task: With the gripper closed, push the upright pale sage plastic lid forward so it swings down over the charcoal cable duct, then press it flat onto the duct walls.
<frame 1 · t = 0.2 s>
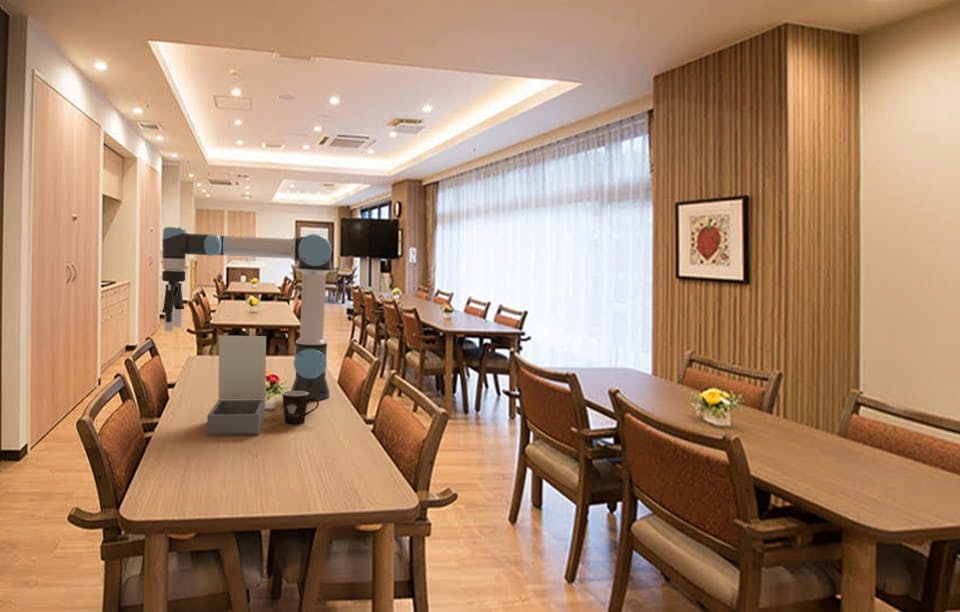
hand: (173, 329, 240), 28 cm above the table, fingers open, 13 cm apart
cable duct: (237, 426, 217), on the table
coffee mug: (298, 423, 225), on the table
duct lid: (242, 367, 226), point 18 cm above the table, hinge at 85.0°
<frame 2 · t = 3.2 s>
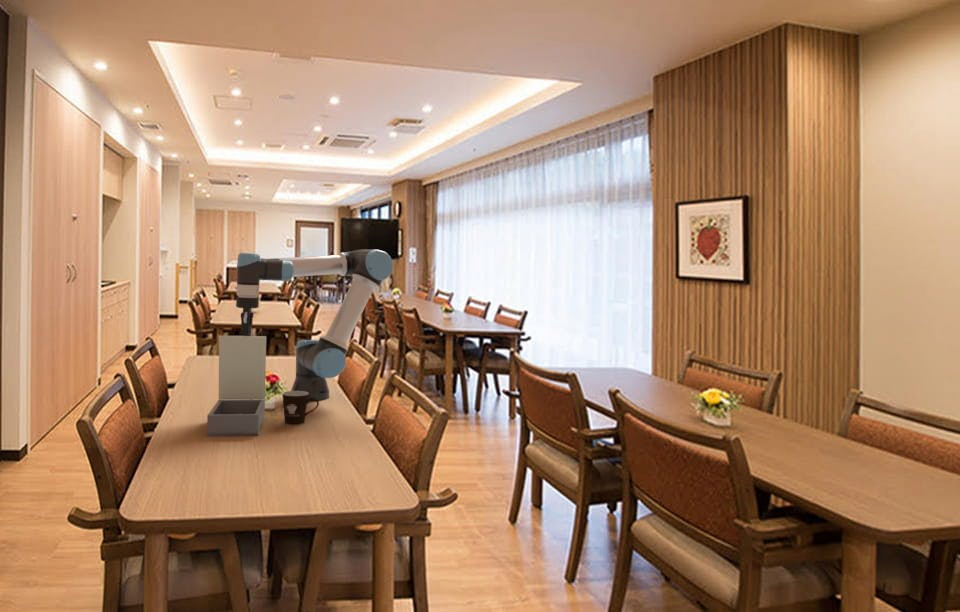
hand: (245, 362, 237), 18 cm above the table, fingers closed
nothing on the table moved.
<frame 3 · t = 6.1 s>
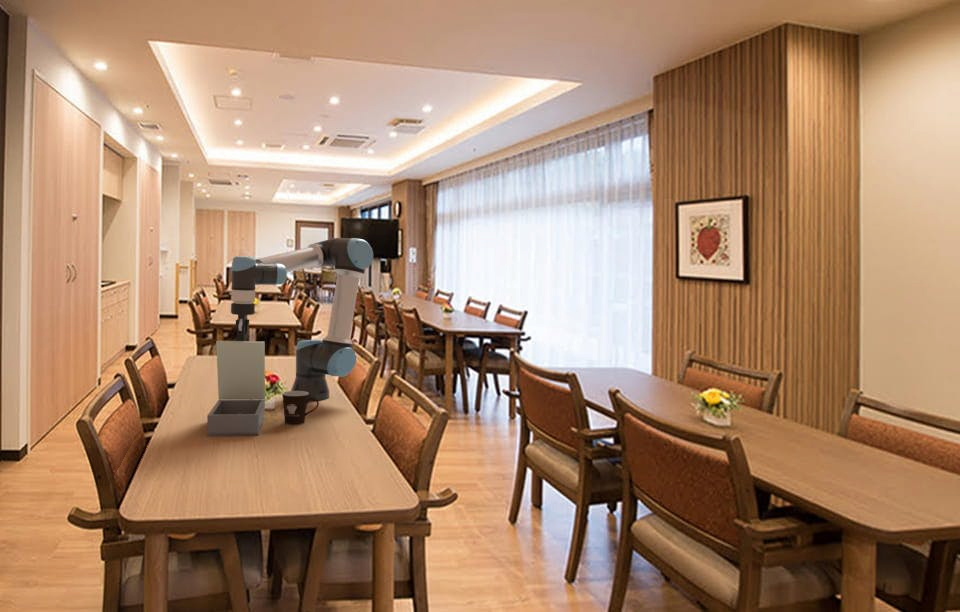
hand: (241, 371, 225), 16 cm above the table, fingers closed
duct lid: (241, 370, 223), point 17 cm above the table, hinge at 69.5°, touching gripper, hand
everything else where it was.
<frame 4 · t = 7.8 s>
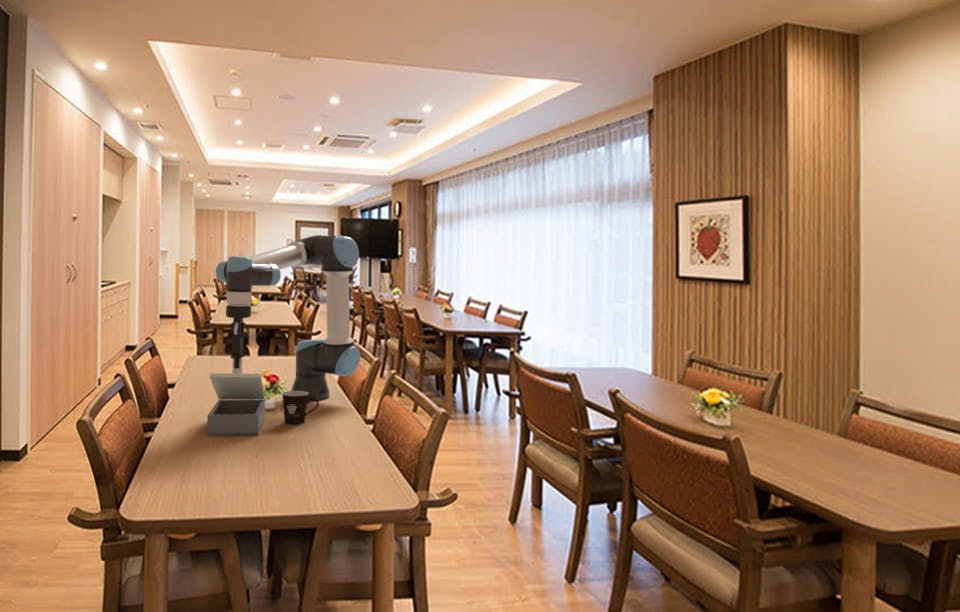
hand: (237, 377, 213), 17 cm above the table, fingers closed
duct lid: (238, 387, 218), point 13 cm above the table, hinge at 30.7°, touching gripper
everything else where it was.
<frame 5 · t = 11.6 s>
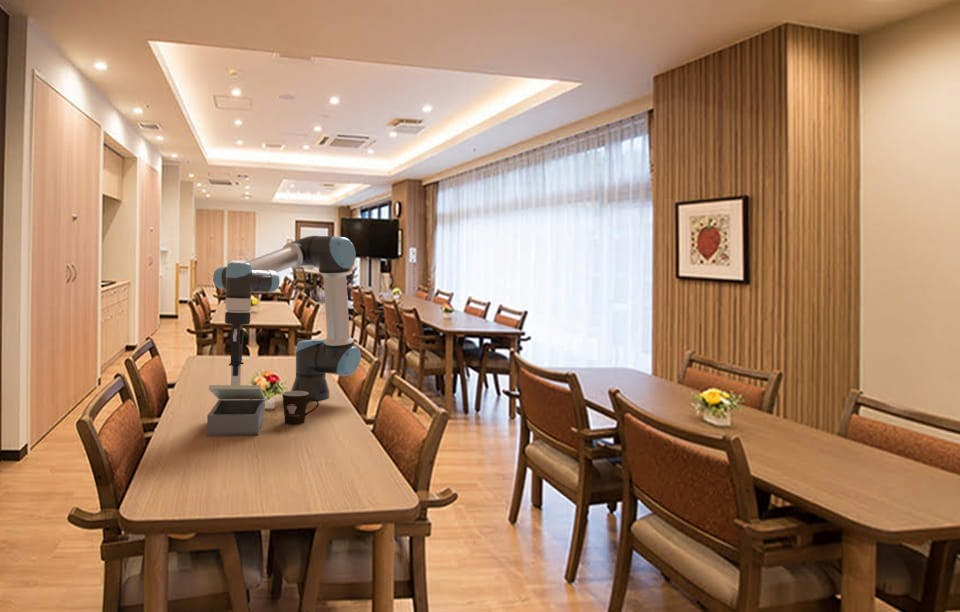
hand: (235, 385, 210), 15 cm above the table, fingers closed
duct lid: (238, 392, 217), point 11 cm above the table, hinge at 20.8°, touching gripper
everything else where it was.
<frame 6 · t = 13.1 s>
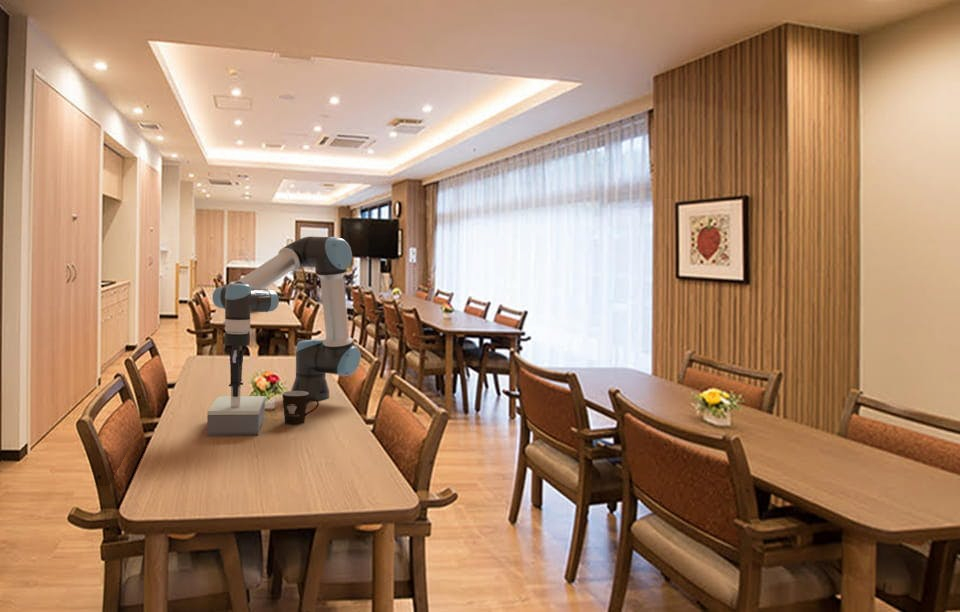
hand: (235, 406, 211), 8 cm above the table, fingers closed
duct lid: (237, 405, 216), point 7 cm above the table, hinge at 0.1°, touching gripper
everything else where it was.
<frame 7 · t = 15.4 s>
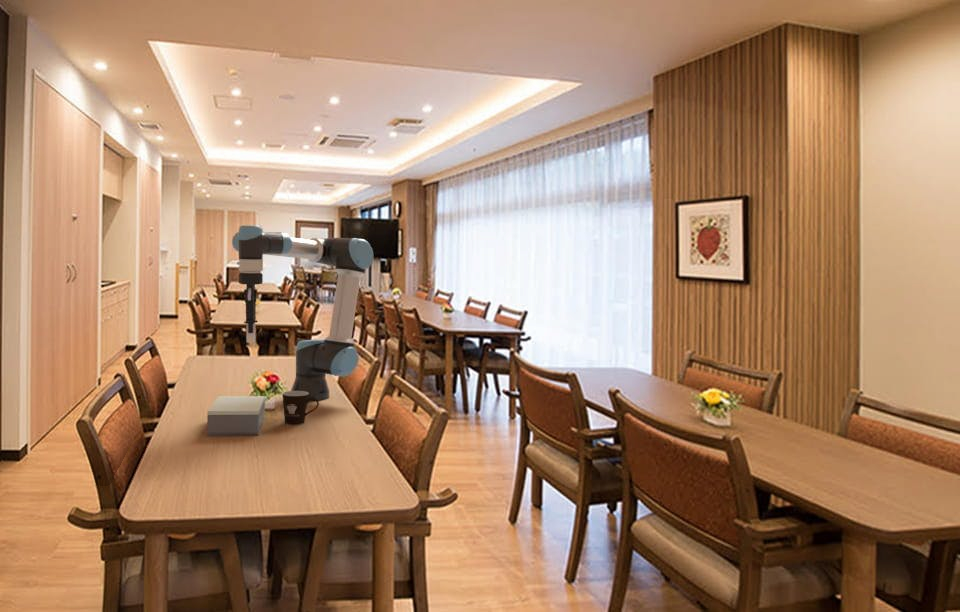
hand: (250, 342, 223), 27 cm above the table, fingers closed
duct lid: (237, 405, 216), point 7 cm above the table, hinge at 0.1°
everything else where it was.
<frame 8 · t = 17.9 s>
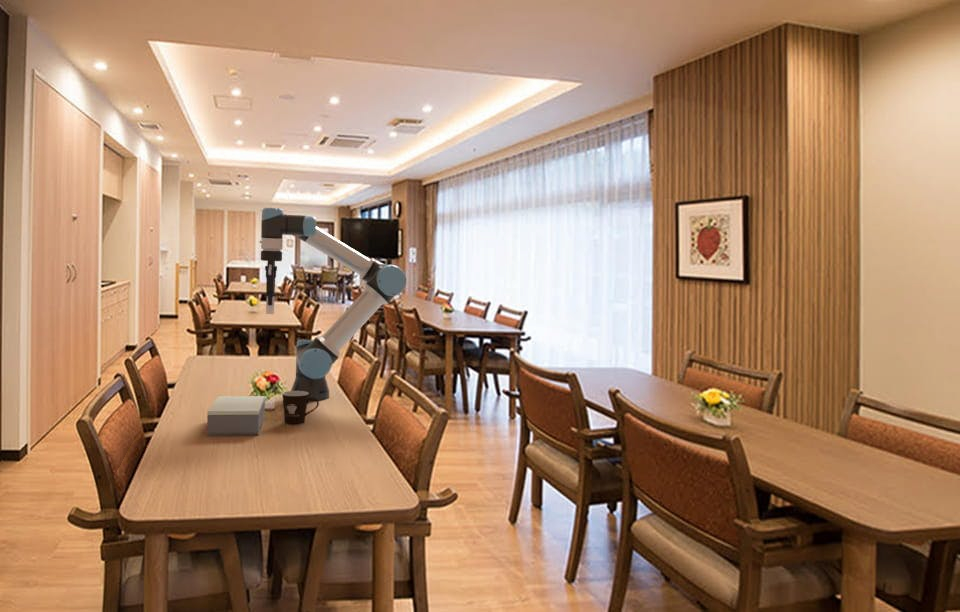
hand: (270, 313, 246), 34 cm above the table, fingers closed
nothing on the table moved.
at the end: duct lid at +0° (first picture: +85°); coffee mug moved 0.2 cm from its start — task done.
